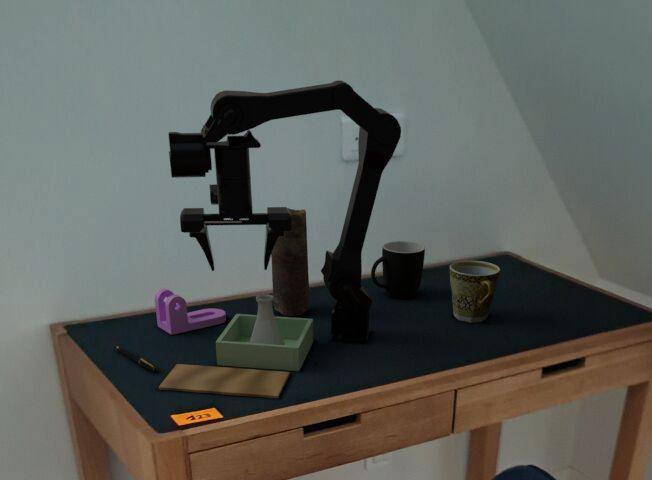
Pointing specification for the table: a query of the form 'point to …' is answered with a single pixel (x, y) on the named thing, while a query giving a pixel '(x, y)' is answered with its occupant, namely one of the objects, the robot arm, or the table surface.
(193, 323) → the bracket
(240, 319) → the bin
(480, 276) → the ceramic cup
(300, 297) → the brown tall block
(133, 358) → the fountain pen
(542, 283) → the table surface
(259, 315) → the flask
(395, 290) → the mug
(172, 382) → the cork mat
